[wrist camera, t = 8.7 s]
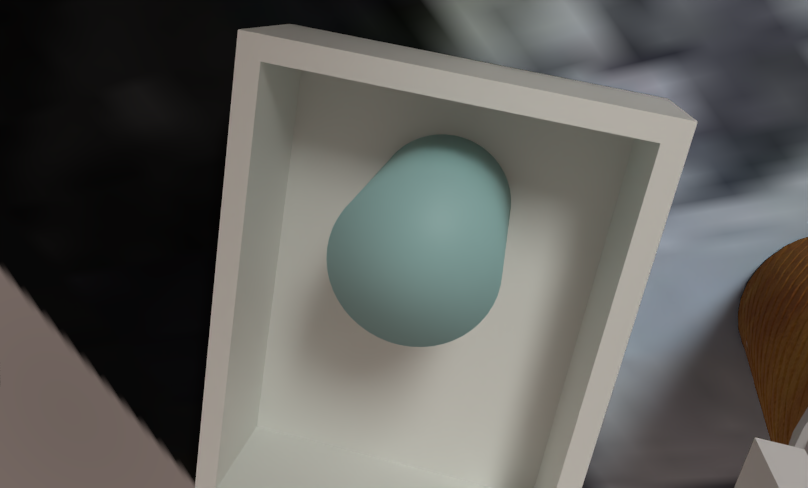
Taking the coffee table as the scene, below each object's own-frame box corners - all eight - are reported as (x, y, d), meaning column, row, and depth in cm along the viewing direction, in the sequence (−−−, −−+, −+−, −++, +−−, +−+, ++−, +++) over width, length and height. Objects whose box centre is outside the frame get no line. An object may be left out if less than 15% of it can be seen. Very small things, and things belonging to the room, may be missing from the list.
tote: (290, 23, 27) (237, 29, 22) (668, 98, 25) (697, 121, 21) (242, 430, 33) (193, 502, 28) (545, 508, 31) (547, 598, 27)
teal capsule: (386, 122, 27) (337, 163, 20) (523, 148, 26) (519, 198, 19) (367, 250, 28) (317, 326, 22) (496, 277, 28) (483, 363, 21)
